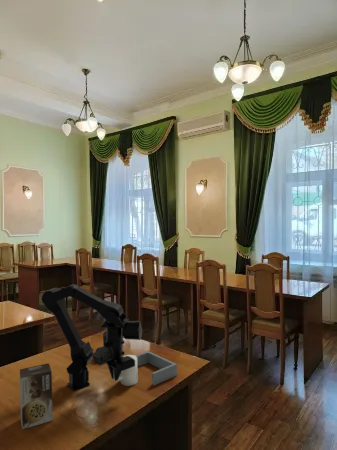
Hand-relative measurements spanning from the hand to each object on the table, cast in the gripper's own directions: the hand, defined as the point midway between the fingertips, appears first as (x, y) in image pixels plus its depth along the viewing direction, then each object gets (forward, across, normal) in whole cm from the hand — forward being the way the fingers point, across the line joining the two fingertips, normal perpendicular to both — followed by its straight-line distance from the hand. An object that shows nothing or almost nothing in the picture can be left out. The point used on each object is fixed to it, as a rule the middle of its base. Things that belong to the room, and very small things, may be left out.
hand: (114, 379), depth 122 cm
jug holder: (+3, 0, +18) cm, 18 cm away
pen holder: (+3, -27, +17) cm, 32 cm away
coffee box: (+3, 0, -29) cm, 29 cm away
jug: (+3, 0, +5) cm, 6 cm away
